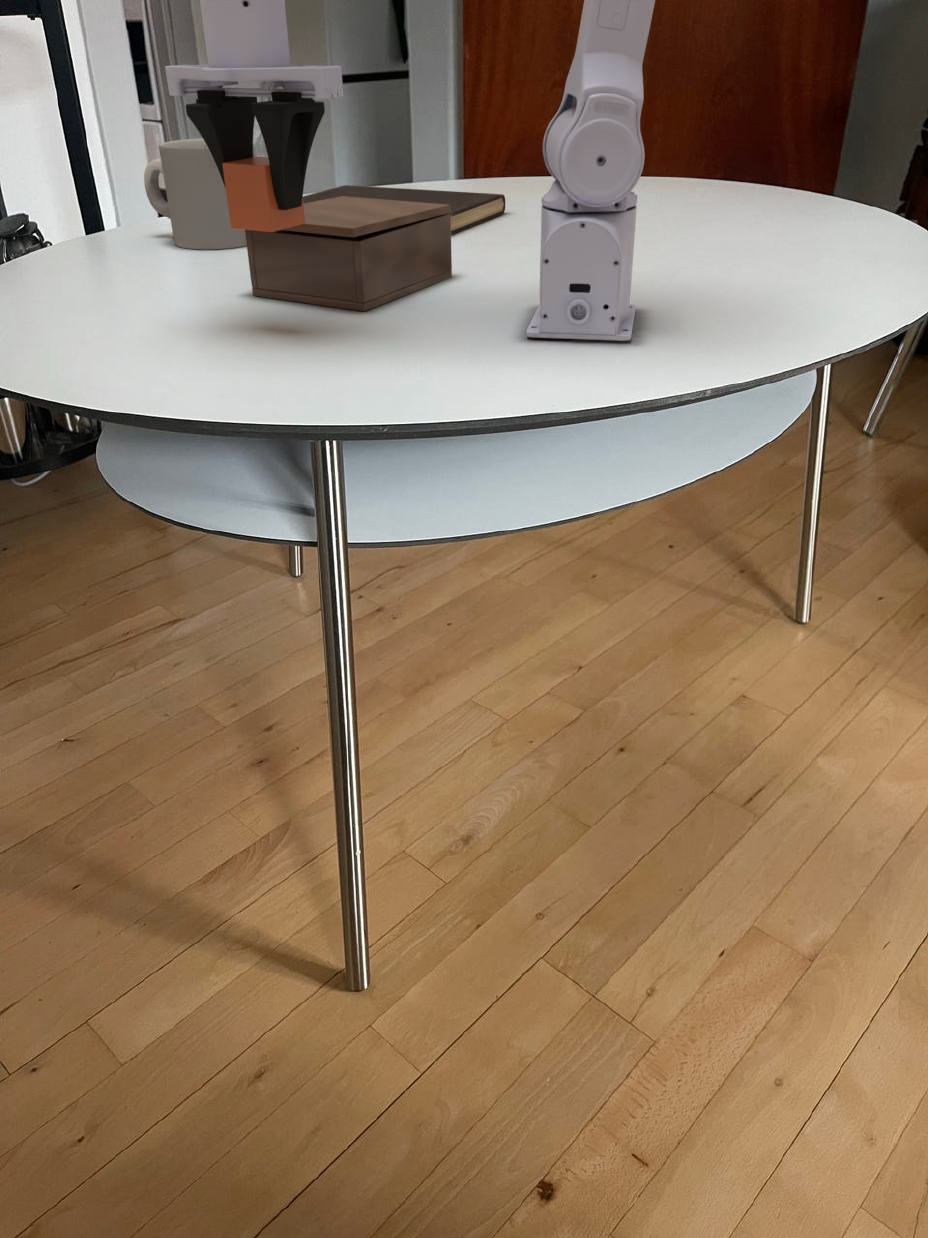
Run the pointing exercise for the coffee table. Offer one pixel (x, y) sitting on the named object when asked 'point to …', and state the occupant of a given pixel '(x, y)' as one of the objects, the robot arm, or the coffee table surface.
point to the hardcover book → (428, 201)
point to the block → (256, 197)
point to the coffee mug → (192, 196)
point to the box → (350, 264)
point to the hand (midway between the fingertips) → (265, 205)
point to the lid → (363, 215)
